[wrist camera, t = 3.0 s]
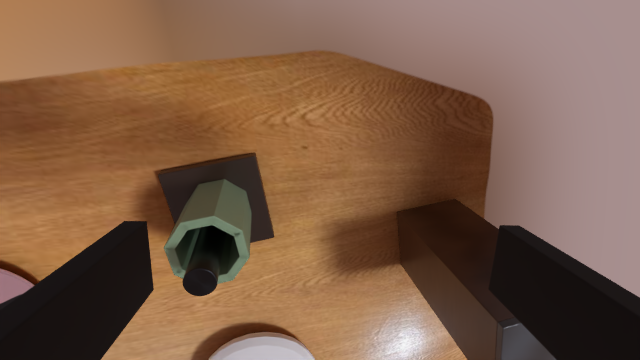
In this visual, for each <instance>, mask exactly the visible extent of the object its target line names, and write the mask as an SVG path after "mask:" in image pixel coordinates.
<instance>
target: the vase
mask: <svg viewBox="0 0 640 360" xmlns="http://www.w3.org/2000/svg"><path fill="white" fill-rule="evenodd" d="M208 360H315V359H314V357H313V355H312V354H311V353H310V351H309V350H308V349H307V348H306V346H305V345H304V344H302V343H301V342H299V341H298V340H296V339H295V338H293V337H290V336H287V335H284V334H281V333H272V332H259V333H250V334H247V335H244V336H241V337H238V338H234V339H233V340H231V341H229V342H227V343H226V344H224V345H222V346H221V347H220V348H219V349H218V350H216V351H215V352H214V353H213V354H212V355H211V356H210V358H209V359H208Z"/></svg>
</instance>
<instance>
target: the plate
mask: <svg viewBox="0 0 640 360" xmlns="http://www.w3.org/2000/svg"><path fill="white" fill-rule="evenodd" d="M33 286H34V284H32V283H31V282H29V281H28V280H26V279H24V278H23V277H21V276H19V275H17V274H14V273H12V272H9V271H7V270H4V269H0V304H1V303H3V302H5V301H7V300H9V299H11V298H13V297H16V296H18V295H20V294H23V293H25V292H26V291H27V290H29V289H30V288H32V287H33Z"/></svg>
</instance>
